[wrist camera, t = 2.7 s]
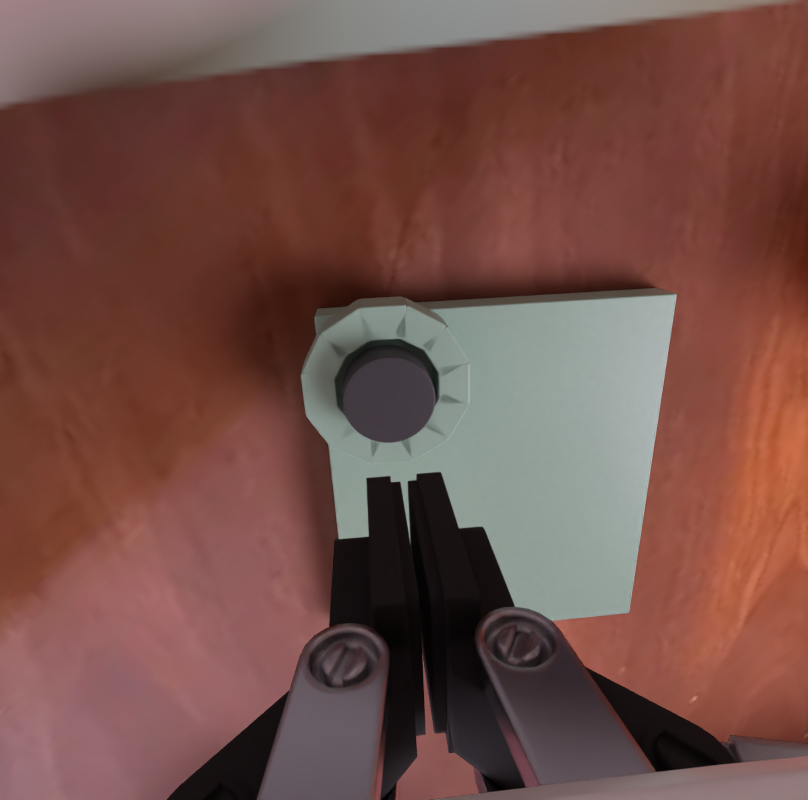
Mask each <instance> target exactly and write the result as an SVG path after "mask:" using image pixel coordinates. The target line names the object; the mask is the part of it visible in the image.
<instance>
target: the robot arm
mask: <svg viewBox="0 0 808 800" xmlns="http://www.w3.org/2000/svg"><path fill="white" fill-rule="evenodd" d="M366 482H367V506H368V530H369V537H358V538H347V539H336V540H335V542H334V556H333V573H332V589H331V606H330V623H329V628H326V629H324V630H322V631H321V632H319V633H318V634H316V635H315V636H313V638H312V639H311V640H310V641H309V642H308V643H307V644H306V645H305V647H304V649H303V651H302V653H301V655H300V657H299V660H298V664H297V667H296V670H295V674H294V677H293V680H292V684H291V687H290V690H289V691H288V692H287V693H286V694H285V695H284V696H282V697H281V698H280V699H279V700H278V701H277V702H276V703H274V704H273V705H272V706H271V707H270V708H269V709H267V710H266V711H265V712H264V713H263V714H262V715H261V716H259V717H258V718H257V719H256V720H255V721H254V722H253V723H251V724H250V725H249V726H248V727H247V728H246V729H244V730H243V731H242V732H241V733H240V734H239V735H238V736H236V737H235V738H234V739H233V740H232V741H231V742H230V743H228V744H227V745H226V746H225V747H224V748H223V749H221V750H220V751H219V752H218V753H217V754H216V755H215V756H213V757H212V758H211V759H210V760H209V761H208V762H207V763H205V764H204V765H203V766H202V767H201V768H200V769H199V770H197V771H196V772H195V773H194V774H193V775H192V776H190V777H189V778H188V779H187V780H186V781H185V782H184V783H182V784H181V785H180V786H179V787H178V788H177V789H176V790H175V791H174V792H173V793H172V794H171V796H170V797H169V798H168V799H167V800H399V786H398V780H399V779H400V777H401V776H402V775H403V774H404V772H405V771H406V770H407V769H408V767H409V766H410V765H411V764H412V762H413V761H414V760H415V759H416V757H417V747H416V736H418V735H425V709H424V686H423V662H422V653H423V660H424V667H425V673H426V680H427V687H428V694H429V700H430V707H431V714H432V720H433V727H434V732H435V734H436V733H444V732H445V733H446V739H447V744H448V750H449V753H456V754H457V755H459V756H460V757H461V758H463V759H464V760H465V761H467V762H468V763H470V764H471V765H472V766H474V775H475V780H476V784H477V787H478V790H479V794H470V795H462V796H454V797H446V798H438V799H430V800H808V743H800V742H791V741H782V740H772V739H763V738H754V737H745V736H735V735H730V737H729V741H728V743H726V742H719V741H718V740H717V739H716V738H715V737H714V736H712V735H711V734H709V733H708V732H706V731H705V730H703V729H702V728H700V727H699V726H697V725H695V724H693V723H691V722H690V721H688V720H686V719H684V718H682V717H680V716H678V715H676V714H674V713H672V712H670V711H669V710H667V709H665V708H663V707H661V706H659V705H657V704H655V703H653V702H651V701H649V700H647V699H646V698H644V697H642V696H640V695H638V694H636V693H634V692H632V691H630V690H628V689H626V688H625V687H623V686H621V685H619V684H617V683H615V682H613V681H611V680H609V679H607V678H605V677H604V676H602V675H600V674H598V673H596V672H594V671H592V670H590V669H588V668H586V667H585V666H584V665H583V663H582V662H581V660H580V659H579V657H578V656H577V654H576V653H575V651H574V650H573V649H572V647H571V646H570V644H569V643H568V641H567V640H566V638H565V637H564V635H563V634H562V632H561V631H560V629H559V628H558V627H557V626H556V625H555V624H554V623H553V622H552V621H551V620H550V619H548V618H547V617H545V616H544V615H542V614H541V613H539V612H536V611H533V610H530V609H528V608H521V607H515V605H514V603H513V600H512V597H511V595H510V592H509V590H508V587H507V585H506V582H505V580H504V577H503V575H502V572H501V569H500V567H499V564H498V562H497V559H496V557H495V554H494V552H493V549H492V547H491V544H490V541H489V539H488V536H487V534H486V531H485V529H484V528H483V527H482V526H480V527H469V528H459V527H458V524H457V521H456V517H455V514H454V511H453V508H452V505H451V502H450V499H449V495H448V492H447V489H446V486H445V483H444V480H443V476H442V473H441V472H432V473H420V474H417V475H416V480H413V481H408V502H409V522H410V538H409V532H408V525H407V519H406V513H405V507H404V501H403V495H402V488H401V482H391V477H390V476H384V477H371V478H366ZM410 543H411V544H410Z"/></svg>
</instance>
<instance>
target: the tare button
mask: <svg viewBox="0 0 808 800" xmlns="http://www.w3.org/2000/svg"><path fill="white" fill-rule="evenodd" d="M435 398H436V397H435V390H434V386H433V383H432V381H431V378H430V376H429V373H428V371H427V368H426V367H425V365H424V363H423V362H422V360H421V359H420V358H419V357H418V356H417V355H416V354H414V353H413V352H411V351H410V350H408V349H406V348H403V347H400V346H396V345H379V346H375V347H372V348H369V349H367V350H365V351H363V352H362V353H361V354H359V355H358V356H357V357H356V358H355V359H354V360H353V361H352V362H351V364H350V365H349V367H348V369H347V371H346V374H345V377H344V384H343V409H344V413H345V416H346V418H347V420H348V421H349V423H350V425H351V426H352V427H353V428H354V429H355V430H356V431H357V432H358V433H359V434H361V435H362V436H364V437H366V438H368V439H370V440H373V441H377V442H383V443H393V442H399V441H403V440H406V439H408V438H410V437H412V436H414V435H415V434H417V433H418V432H419V431H421V430H422V429H423V428H424V427H425V425H426V424H427V423H428V421H429V420H430V418H431V416H432V414H433V411H434V407H435Z"/></svg>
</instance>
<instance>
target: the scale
mask: <svg viewBox="0 0 808 800" xmlns="http://www.w3.org/2000/svg"><path fill="white" fill-rule="evenodd" d="M676 296H677V294H675V293H672V292H669V291H666V290H663V289H660V288H646V289H630V290H613V291H597V292H580V293H564V294H548V295H531V296H515V297H498V298H482V299H465V300H449V301H433V302H416V303H415V302H413V301H411V300H409V299H407V298H403V297H402V296H398V297H381V298H365V299H359V300H356V301H355V302H353V303H352V304H350V305H348V306H347V307H334V308H318V309H317V311H316V314H315V317H314V318H315V328H316V337H315V339H314V341H313V343H312V345H311V348H310V350H309V352H308V354H307V356H306V358H305V361H304V364H303V368H302V371H301V382H302V390H303V398H304V406H305V414H306V417H307V418H308V419H309V421H310V422H311V423H312V424H313V426H314V427H315V428H316V429H317V431H318V432H319V433H320V434H321V436H322V437H323V438H324V439H325V441H326V442H327V443H328V447H329V456H330V465H331V475H332V484H333V493H334V502H335V511H336V520H337V530H338V539H347V538H358V537H369V530H368V506H367V482H366V478H371V477H384V476H390V477H391V482H401V488H402V495H403V501H404V507H405V513H406V519H407V525H408V532H409V538H410V522H409V502H408V481H413V480H416V475H417V474H420V473H432V472H441V473H442V476H443V480H444V483H445V486H446V489H447V492H448V495H449V499H450V502H451V505H452V508H453V511H454V514H455V517H456V521H457V524H458V527H459V528H469V527H480V526H482V527H483V528H484V529H485V531H486V534H487V536H488V539H489V541H490V544H491V547H492V549H493V552H494V554H495V557H496V559H497V562H498V564H499V567H500V569H501V572H502V575H503V577H504V580H505V582H506V585H507V587H508V590H509V592H510V595H511V597H512V600H513V603H514V605H515V607H521V608H528V609H530V610H533V611H536V612H539V613H541V614H542V615H544V616H545V617H547V618H548V619H550V620H551V621H554V620H563V619H573V618H583V617H593V616H603V615H613V614H623V613H629V609H630V602H631V596H632V589H633V582H634V576H635V569H636V562H637V556H638V549H639V542H640V536H641V529H642V522H643V516H644V509H645V503H646V496H647V489H648V483H649V476H650V469H651V463H652V456H653V449H654V443H655V436H656V429H657V423H658V416H659V409H660V403H661V396H662V390H663V383H664V376H665V370H666V363H667V356H668V350H669V343H670V336H671V330H672V323H673V316H674V310H675V303H676ZM379 345H396V346H400V347H403V348H406V349H408V350H410V351H411V352H413V353H414V354H416V355H417V356H418V357H419V358H420V359H421V360H422V362H423V363H424V365H425V367H426V368H427V371H428V373H429V376H430V378H431V381H432V383H433V386H434V390H435V397H436V398H435V407H434V411H433V414H432V416H431V418H430V420H429V421H428V423H427V424H426V425H425V427H424V428H423V429H422V430H421V431H419V432H418V433H417V434H415V435H414V436H412V437H410V438H408V439H406V440H403V441H399V442H393V443H383V442H377V441H373V440H370V439H368V438H366V437H364V436H362V435H361V434H359V433H358V432H357V431H356V430H355V429H354V428H353V427H352V426H351V425H350V423H349V421H348V420H347V418H346V416H345V413H344V409H343V384H344V377H345V374H346V371H347V369H348V367H349V365H350V364H351V362H352V361H353V360H354V359H355V358H356V357H357V356H358V355H359V354H361V353H362V352H363V351H365V350H367V349H369V348H372V347H375V346H379ZM410 544H411V543H410Z"/></svg>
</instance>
